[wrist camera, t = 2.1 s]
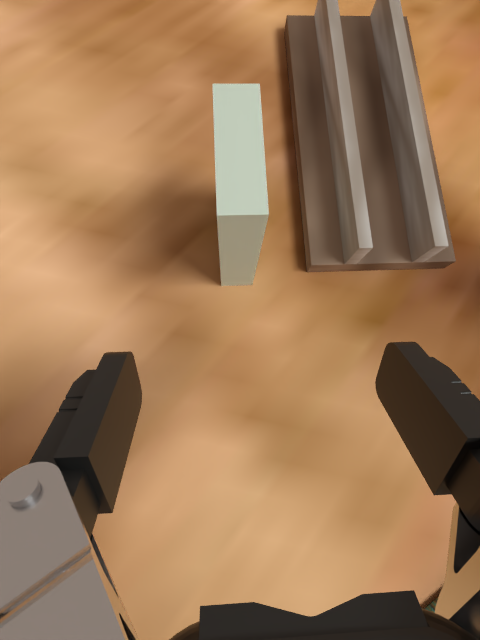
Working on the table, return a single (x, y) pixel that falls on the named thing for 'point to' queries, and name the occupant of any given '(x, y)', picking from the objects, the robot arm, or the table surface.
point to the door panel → (239, 180)
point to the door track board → (363, 143)
